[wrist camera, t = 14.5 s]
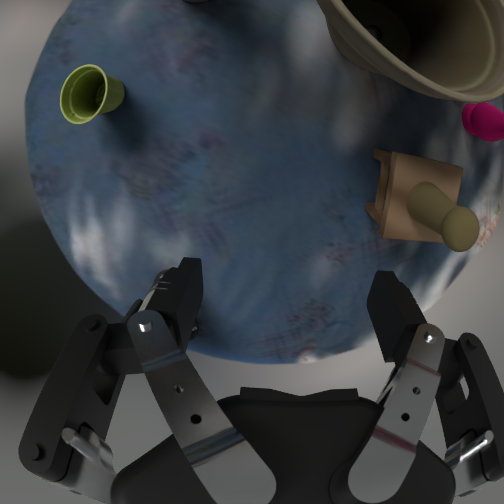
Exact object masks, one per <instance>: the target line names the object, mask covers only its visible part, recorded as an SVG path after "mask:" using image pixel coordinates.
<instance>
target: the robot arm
mask: <svg viewBox="0 0 504 504" xmlns="http://www.w3.org/2000/svg"><path fill="white" fill-rule="evenodd" d="M184 1H187V2H194V3H196V2H204V1H208V0H184ZM202 298H203V276H202V263H201V259H200V258H188V257H184V258H183V259H182V261H181V263H180V265H179V267H178V268H175V267H172V268H170V269H169V270H168V271H167V272H165V273H164V274H163V276H162V278H161V280H160V283H158V285H157V287H156V289H155V291H154V292H153V294H152V296H151V298H150V300H149V302H148V304H147V306H146V307H145V309H144V310H142V311H139V312H137V313H135V314H133V315H132V316H131V317H130V318H129V320H128V322H125V323H114V324H108V322H107V320H106V318H105V317H104V316H102V315H99V314H91V315H88V316H85V317H84V318H82V319H81V320H80V321H79V322H78V323H77V325H76V327H75V328H74V330H73V332H72V334H71V335H70V337H69V339H68V341H67V342H66V344H65V346H64V348H63V350H62V351H61V354H60V355H59V357H58V359H57V361H56V363H55V365H54V366H53V369H52V371H51V372H50V374H49V377H48V379H47V380H46V383H45V385H44V387H43V389H42V391H41V393H40V395H39V397H38V400H37V402H36V404H35V406H34V409H33V412H32V414H31V416H30V418H29V421H28V423H27V426H26V429H25V431H24V433H23V436H22V439H21V442H20V445H19V458H20V460H21V462H22V464H23V466H24V467H25V468H26V469H27V470H29V471H30V472H32V473H34V474H35V475H37V476H39V477H41V478H42V479H43V480H45V481H47V482H49V483H51V484H53V485H55V486H57V487H60V488H62V489H64V490H69V491H71V492H73V493H76V494H83V495H86V496H88V497H90V498H93V499H95V500H98V501H101V502H103V503H106V504H452V502H453V499H454V497H456V496H460V497H461V496H466V495H468V494H471V493H473V492H475V491H477V490H479V489H481V488H483V487H485V486H487V485H489V484H491V483H493V482H495V481H497V480H499V479H500V478H502V477H504V392H503V389H502V387H501V385H500V382H499V379H498V377H497V375H496V372H495V370H494V368H493V365H492V363H491V361H490V359H489V357H488V355H487V352H486V350H485V348H484V346H483V344H482V342H481V341H480V340H479V338H478V337H476V336H475V335H474V334H471V333H463V334H462V335H461V336H460V338H459V339H458V341H456V340H451V339H447V338H445V336H444V334H443V332H442V331H441V330H440V329H439V328H438V327H436V326H435V325H432V324H429V323H427V321H426V319H425V317H424V315H423V314H422V312H421V310H420V308H419V306H418V304H416V303H417V302H416V301H415V299H414V298H413V295H412V293H411V292H410V290H409V288H407V287H406V286H405V285H404V284H403V283H402V282H399V280H398V279H397V277H396V275H395V273H394V272H393V271H380V270H378V271H377V272H376V274H375V277H374V280H373V283H372V286H371V289H370V292H369V295H368V298H367V309H368V312H369V315H370V318H371V321H372V324H373V327H374V330H375V333H376V336H377V339H378V342H379V345H380V348H381V351H382V354H383V358H384V361H385V362H395V367H394V368H393V370H392V372H391V374H390V376H389V378H388V380H387V382H386V384H385V386H384V388H383V390H382V392H381V393H380V395H379V397H378V399H377V401H376V402H374V401H372V400H369V399H367V398H363V397H359V396H358V392H357V388H354V389H333V390H327V391H323V392H319V393H314V394H311V395H306V396H297V395H293V394H288V393H284V392H281V391H277V390H273V389H264V388H249V387H241V390H240V395H234V396H230V397H226V398H223V399H220V400H218V401H215V399H214V398H213V396H212V395H211V393H210V392H209V390H208V388H207V387H206V385H205V384H204V382H203V381H202V379H201V377H200V376H199V374H198V373H197V371H196V369H195V368H194V366H193V365H192V363H191V361H190V359H189V358H188V356H187V355H186V353H185V352H186V349H187V345H188V342H189V339H190V336H191V333H192V329H193V326H194V323H195V320H196V317H197V314H198V311H199V307H200V304H201V301H202ZM139 373H144V374H145V376H146V378H147V380H148V383H149V385H150V387H151V390H152V392H153V394H154V396H155V399H156V401H157V403H158V405H159V407H160V409H161V411H162V413H163V415H164V417H165V419H166V421H167V423H168V425H169V427H170V429H171V430H172V432H173V434H172V435H170V436H169V437H168V438H167V439H165V440H164V441H162V442H161V443H160V444H158V445H157V446H156V447H154V448H153V449H151V450H150V451H148V452H147V453H146V454H144V455H143V456H141V457H140V458H138V459H137V460H135V461H134V462H132V463H131V464H130V465H128V466H126V467H125V468H123V469H122V470H121V471H120V472H119V473H118V474H116V473H115V471H114V468H113V453H112V450H111V448H110V447H109V445H108V444H107V443H105V439H106V435H107V431H108V428H109V425H110V422H111V419H112V415H113V412H114V409H115V406H116V403H117V399H118V397H119V394H120V391H121V388H122V385H123V381H124V379H125V376H126V374H139ZM463 377H465V380H466V382H467V385H468V388H469V395H468V398H467V400H466V399H465V396H464V393H463V390H462V387H461V384H460V380H461V379H462V378H463ZM434 398H435V399H436V403H437V407H438V411H439V414H440V419H441V423H442V427H443V432H444V437H445V442H446V447H447V451H446V453H445V458H444V460H442V459H441V458H440V457H438V456H437V455H436V454H435V453H434V452H432V451H431V450H430V449H429V448H428V447H427V446H426V445H425V444H423V443H422V442H421V441H420V440H419V439H420V436H421V434H422V431H423V429H424V426H425V424H426V421H427V418H428V416H429V413H430V410H431V407H432V404H433V401H434Z"/></svg>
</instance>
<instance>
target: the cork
mask: <svg viewBox="0 0 504 504" xmlns="http://www.w3.org/2000/svg"><path fill="white" fill-rule="evenodd" d="M407 210H408V213H409V215H410V216H411V218H412V219H413V220H415V221H417V222H419V223H421V224H422V225H424V226H426V227H428V228H429V229H431V230H433V231H435V232H436V233H438V234H440V235H441V236H442V239H443V241H444V242H445V244H446V245H447V246H448V247H449V248H450V249H451V250H453V251H455V252H464V251H467V250H468V249H470V248H471V247H472V246H473V245H474V244H475V242H476V240H477V238H478V235H479V228H480V227H479V222H478V219H477V217H476V215H475V214H474V212H473V211H471V210H470V209H469V208H467V207H462V206H457V205H456V204H455V203H454V202H453V201H452V200H451V199H450V198H449V197H448V196H447V195H446V194H444V193H443V192H442V191H441V190H440V189H439V188H438V187H437V186H435V185H434V184H433V183H431V182H420V183H419V184H417V185H415V186H414V188H413V189H412V190H411V192H410V194H409V196H408V200H407Z"/></svg>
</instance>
